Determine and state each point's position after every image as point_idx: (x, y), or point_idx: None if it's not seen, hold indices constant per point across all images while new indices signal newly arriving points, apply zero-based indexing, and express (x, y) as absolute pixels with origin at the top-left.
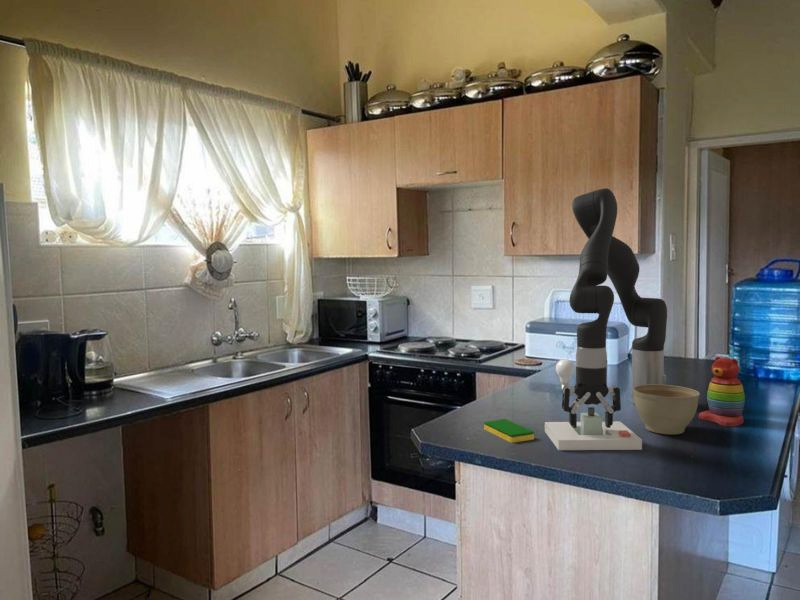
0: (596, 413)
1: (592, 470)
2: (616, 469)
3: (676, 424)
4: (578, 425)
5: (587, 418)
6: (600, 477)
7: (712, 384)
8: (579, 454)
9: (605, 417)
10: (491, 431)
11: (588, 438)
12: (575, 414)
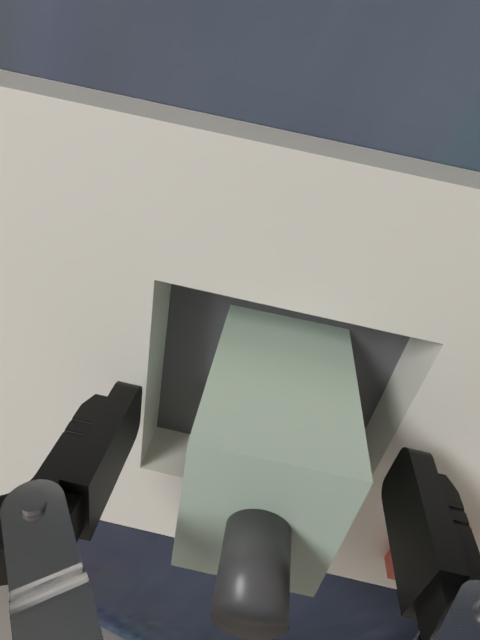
0: (353, 506)
1: (113, 605)
2: (194, 621)
3: None
4: (231, 279)
5: (183, 563)
6: (118, 635)
7: None
8: None
9: (418, 516)
10: None
11: (172, 520)
12: (79, 537)
